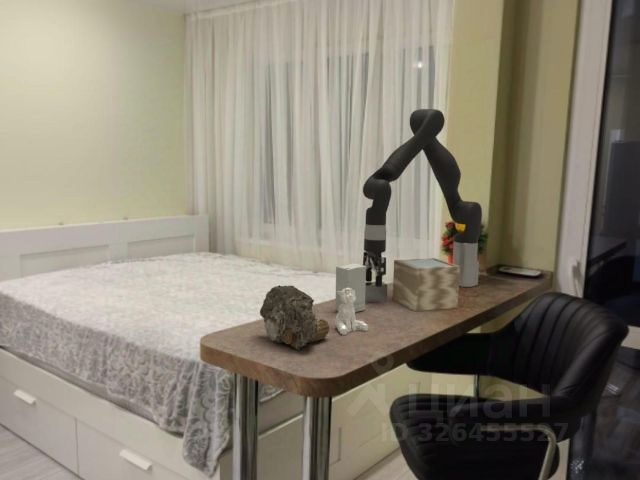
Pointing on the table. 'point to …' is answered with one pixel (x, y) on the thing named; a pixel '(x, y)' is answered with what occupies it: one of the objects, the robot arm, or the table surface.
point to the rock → (291, 317)
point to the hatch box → (426, 286)
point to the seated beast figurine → (348, 313)
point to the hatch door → (425, 263)
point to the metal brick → (375, 292)
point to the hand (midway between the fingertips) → (373, 283)
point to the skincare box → (351, 283)
